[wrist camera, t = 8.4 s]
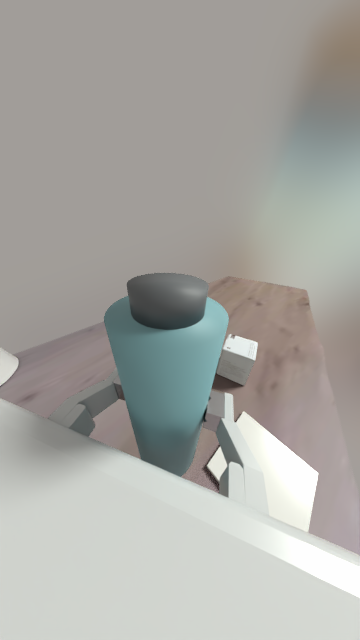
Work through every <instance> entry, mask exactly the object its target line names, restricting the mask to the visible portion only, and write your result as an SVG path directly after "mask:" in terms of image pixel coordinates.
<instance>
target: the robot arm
mask: <svg viewBox="0 0 360 640" xmlns="http://www.w3.org/2000/svg"><path fill="white" fill-rule="evenodd" d="M18 363H19V361H18V359H17V357H15V356H13V355H11V354H10V353H8V352H7V351H5V350H4V349H2V348H1V347H0V386H1V385H2V384H3V383H5V382H6V381H7V380H8V379H9V378H10V377H11V376H12V375H13V373H14V372H15V371H16V369H17V367H18ZM118 399H121V400H125V397H124V393H123V390H122V386H121V382H120V378H119V375H118V371H117V368H116V369H115V370H114V371H113V372H112V373H111V375H110V376H109V377H108V378H107V379H106V380H103V381H101V382H99V383H97V384H95V385H93V386H91V387H89V388H87V389H85V390H83V391H81V392H79V393H77V394H75V395H73V396H71V397H69V398H67V399H66V400H65V401H64V402H63V403H62V404H61V405H60V406H59V407H58V408H57V409H56V410H55V411H54V412H53V413H52V414H51V415H50V416H49V417H48V418H44V417H42V416H40V415H37V414H35V413H33V412H30V411H28V410H26V409H24V408H21V407H19V406H17V405H14V404H12V403H10V402H8V401H5V400H3V399H1V398H0V640H360V555H358V554H356V553H354V552H351V551H349V550H347V549H344V548H342V547H340V546H338V545H335V544H333V543H331V542H328V541H326V540H324V539H321V538H319V537H317V536H315V535H312V534H310V533H308V532H305V531H303V530H301V529H299V528H296V527H294V526H292V525H289V524H287V523H285V522H283V521H280V520H278V519H276V518H273V517H271V516H269V509H268V502H267V495H266V488H265V481H264V475H263V471H262V470H261V468H260V466H259V464H258V462H257V460H256V458H255V457H254V455H253V453H252V451H251V449H250V447H249V446H248V444H247V442H246V440H245V438H244V436H243V434H242V433H241V431H240V429H239V427H238V425H237V423H236V422H234V417H233V396H232V394H229V393H225V392H222V391H218V390H214V389H211V392H210V396H209V400H208V404H207V408H206V412H205V415H204V421H203V428H206V429H208V430H211V431H214V432H216V435H217V438H218V441H219V444H220V447H221V449H222V452H223V455H224V458H225V461H226V463H227V468H226V469H225V471H224V472H223V474H222V475H221V477H220V483H219V494H218V493H216V492H214V491H212V490H209V489H207V488H205V487H202V486H200V485H198V484H195V483H193V482H191V481H189V480H186V479H184V478H182V477H179V476H177V475H175V474H173V473H170V472H168V471H166V470H163V469H161V468H159V467H157V466H154V465H152V464H150V463H147V462H145V461H143V460H140V459H138V458H136V457H134V456H131V455H129V454H127V453H124V452H122V451H120V450H118V449H115V448H113V447H111V446H108V445H106V444H104V443H102V442H99V441H97V440H95V439H92V438H90V437H88V436H89V435H90V433H91V432H92V431H93V429H94V428H95V423H94V421H93V419H92V418H94V417H95V416H96V415H98V414H99V413H100V412H102V411H103V410H105V409H106V408H107V407H109V406H110V405H111V404H113V403H114V402H116V401H117V400H118Z"/></svg>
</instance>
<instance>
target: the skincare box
mask: <svg viewBox="0 0 360 640" xmlns="http://www.w3.org/2000/svg"><path fill="white" fill-rule="evenodd" d="M257 345H258V343H257V342H255V341H251V340H248V339H245V338H241V337H238V336H235V335H232V334H229V336H228V338H227V340H226V342H225V344H224V346H223V349H222V353H221V356H220V360H219V364H218V368H217V372H216V373H217V374H218V375H221V376H223V377H225V378H227V379H230V380H232V381H234V382H237V383H239V384H241V385H245V383H246V381H247V379H248V376H249V374H250V371H251V369H252V367H253V364H254V362H255V359H256V353H257Z"/></svg>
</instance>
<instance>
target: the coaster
mask: <svg viewBox="0 0 360 640" xmlns="http://www.w3.org/2000/svg"><path fill="white" fill-rule="evenodd" d="M236 423H237V425H238V427H239V429H240V431H241V433H242V434H243V436H244V438H245V440H246V442H247V444H248V446H249V447H250V449H251V451H252V453H253V455H254V457H255V458H256V460H257V462H258V464H259V466H260V468H261V470H262V471H263V475H264V481H265V488H266V495H267V502H268V509H269V516H271V517H273V518H276V519H278V520H280V521H283V522H285V523H287V524H289V525H292V526H294V527H296V528H299V529H301V530H303V531H305V532H308V529H309V523H310V517H311V512H312V506H313V500H314V494H315V488H316V483H317V477H318V473H317V472H316V471H314V470H313V469H312V468H311V467H310V466H308V465H307V464H306V463H305V462H304V461H303V460H301V459H300V458H299V457H298V456H297V455H295V454H294V453H293V452H292V451H291V450H289V449H288V448H287V447H286V446H285V445H284V444H282V443H281V442H280V441H279V440H278V439H276V438H275V437H274V436H273V435H272V434H270V433H269V432H268V431H267V430H266V429H264V428H263V427H262V426H261V425H260V424H259V423H257V422H256V421H255V420H254V419H253V418H251V417H250V416H249V415H248V414H247V413H245V412H244V411H243V413H242V414H241V416H240V417H239V419H238V420H237V422H236ZM207 468H208V470H209V471H210V472H211V474H212V475H213V476H214V478H215V479H216V480H217V481H218V483H220V477H221V475H222V474H223V472H224V471H225V469H226V468H227V463H226V461H225V458H224V455H223V452H222V449H221V447H219V448H218V450H217V451H216V453H215V454H214V456H213V457H212V459H211V460H210V462H209V463H208V465H207Z"/></svg>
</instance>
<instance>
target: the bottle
mask: <svg viewBox="0 0 360 640" xmlns="http://www.w3.org/2000/svg"><path fill="white" fill-rule="evenodd" d="M208 287H209V286H208V284H207V283H206V282H205V281H204V280H202V279H199V278H197V277H193V276H189V275H184V274H175V273H154V274H146V275H141V276H137V277H135V278H132V279H131V280H129V281H128V282H127V290H128V296H127V297H124V298H122V299H120V300H118V301H117V302H115V303H114V304H113V305H111V306H110V307H109V308H108V310H107V311H106V313H105V316H104V322H105V326H106V330H107V334H108V337H109V341H110V345H111V349H112V352H113V356H114V360H115V363H116V367H117V371H118V375H119V378H120V382H121V386H122V390H123V393H124V397H125V401H126V404H127V408H128V412H129V416H130V419H131V423H132V427H133V430H134V434H135V438H136V442H137V445H138V449H139V453H140V457H141V460H143V461H145V462H147V463H150V464H152V465H154V466H157V467H159V468H161V469H163V470H166V471H168V472H170V473H173V474H175V475H177V476H179V477H181V476H182V475H183V474H184V473H185V472H186V471H187V470H188V468H189V467H190V465H191V463H192V461H193V458H194V454H195V450H196V447H197V443H198V439H199V435H200V431H201V427H202V423H203V419H204V415H205V412H206V408H207V404H208V400H209V396H210V392H211V388H212V384H213V380H214V376H215V373H216V369H217V365H218V361H219V357H220V353H221V349H222V345H223V341H224V338H225V334H226V330H227V326H228V321H229V319H228V314H227V312H226V310H225V309H224V308H223V307H222V306H221V305H220V304H219V303H217V302H216V301H214V300H212V299H211V298H208V297H207V294H208Z"/></svg>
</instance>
